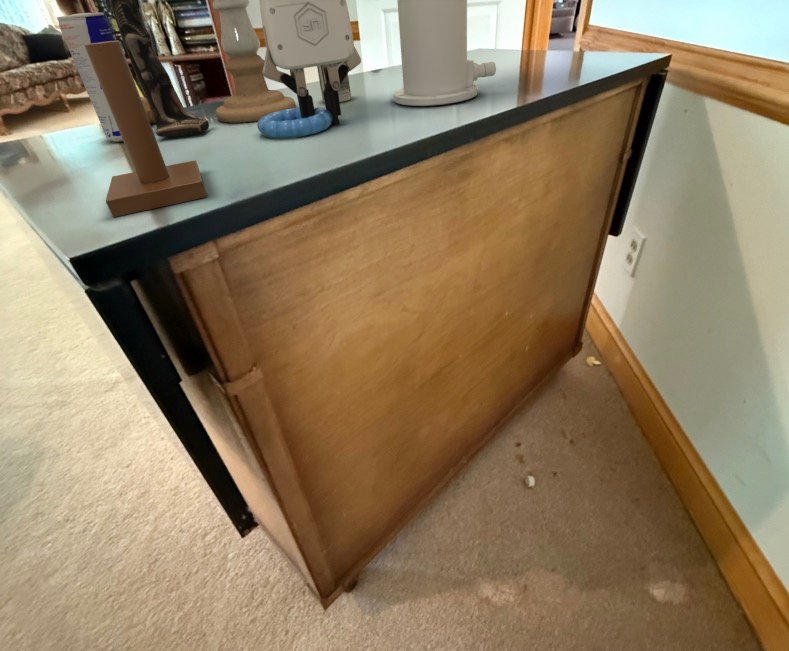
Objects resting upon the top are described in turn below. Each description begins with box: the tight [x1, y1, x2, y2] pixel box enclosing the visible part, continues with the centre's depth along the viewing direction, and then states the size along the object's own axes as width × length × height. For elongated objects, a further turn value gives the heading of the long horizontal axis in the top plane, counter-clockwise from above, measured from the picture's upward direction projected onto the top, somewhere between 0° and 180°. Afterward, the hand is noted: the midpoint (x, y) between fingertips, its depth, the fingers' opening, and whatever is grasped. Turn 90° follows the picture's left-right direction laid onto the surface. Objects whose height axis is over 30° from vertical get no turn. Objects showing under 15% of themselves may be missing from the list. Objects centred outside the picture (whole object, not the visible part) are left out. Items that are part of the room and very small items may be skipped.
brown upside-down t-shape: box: [84, 40, 208, 218], centre depth 41 cm, size 8×8×12 cm
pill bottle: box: [316, 62, 352, 103], centre depth 74 cm, size 5×5×8 cm
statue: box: [108, 0, 210, 138], centre depth 59 cm, size 4×7×20 cm, turn 95°
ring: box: [256, 106, 333, 140], centre depth 61 cm, size 10×10×2 cm
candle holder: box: [212, 0, 297, 124], centre depth 68 cm, size 12×12×20 cm
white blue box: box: [56, 12, 124, 143], centre depth 63 cm, size 6×6×15 cm
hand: (322, 123), depth 62 cm, fingers closed on ring, 2 cm apart
